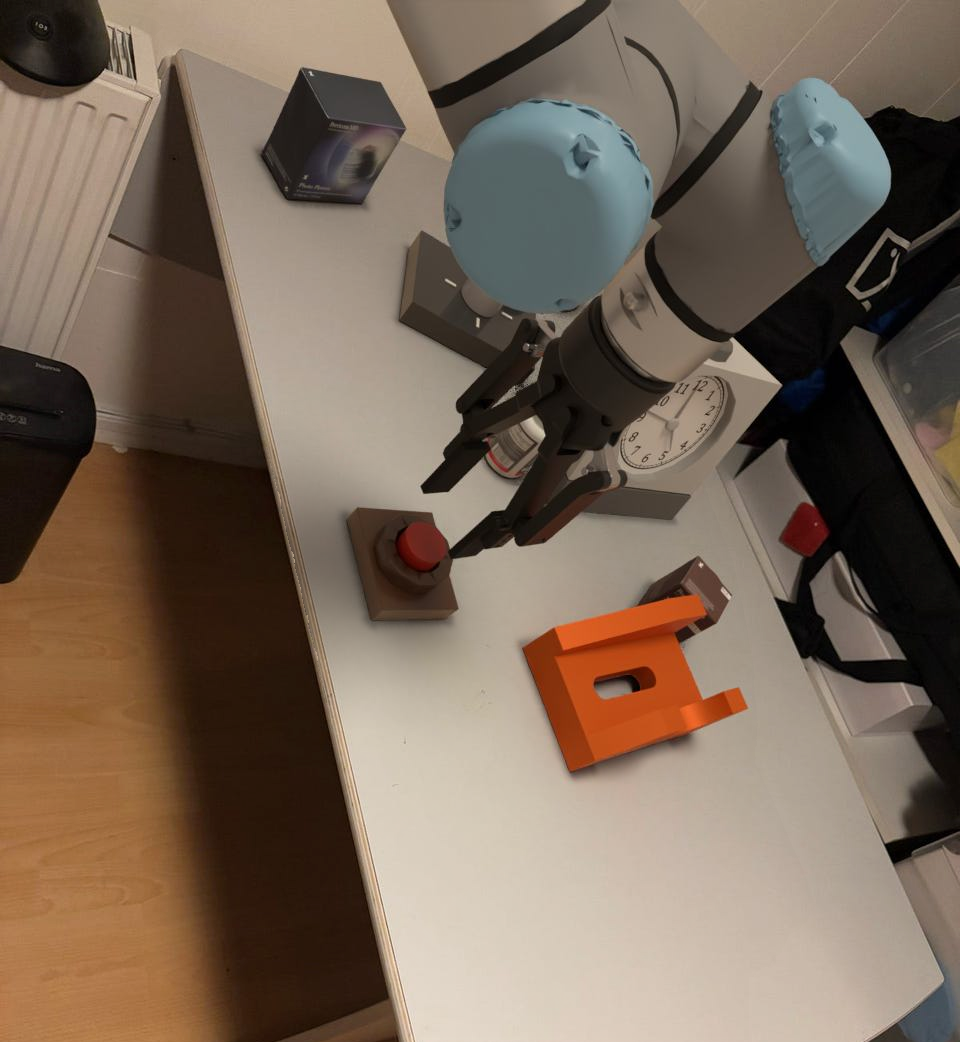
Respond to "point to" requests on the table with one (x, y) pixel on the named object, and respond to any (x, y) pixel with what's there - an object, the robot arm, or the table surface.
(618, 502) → the alarm clock
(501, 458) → the pill bottle
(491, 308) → the hob knob
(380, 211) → the table surface
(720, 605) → the box
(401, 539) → the power button
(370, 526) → the button block
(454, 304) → the hob
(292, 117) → the small box
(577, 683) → the orange phone stand
